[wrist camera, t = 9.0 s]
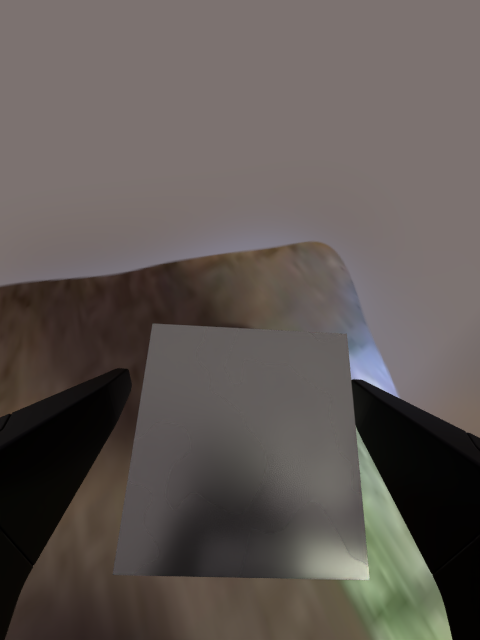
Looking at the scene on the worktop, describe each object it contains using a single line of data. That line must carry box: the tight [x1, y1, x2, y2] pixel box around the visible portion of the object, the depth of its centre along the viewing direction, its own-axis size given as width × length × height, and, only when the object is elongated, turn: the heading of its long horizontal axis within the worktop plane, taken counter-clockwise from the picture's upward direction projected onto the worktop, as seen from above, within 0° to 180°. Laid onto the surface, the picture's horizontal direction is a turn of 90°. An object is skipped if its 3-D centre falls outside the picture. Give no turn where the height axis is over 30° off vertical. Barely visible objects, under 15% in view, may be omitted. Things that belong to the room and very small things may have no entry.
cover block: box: [113, 324, 370, 580], centre depth 11 cm, size 5×5×12 cm
